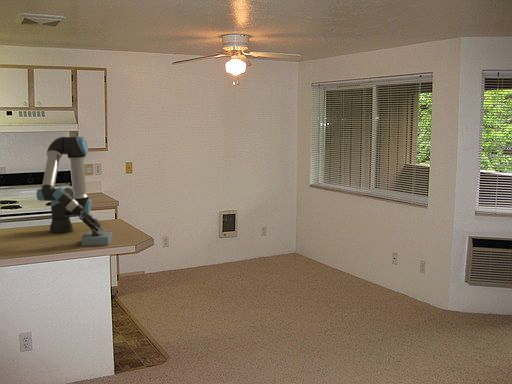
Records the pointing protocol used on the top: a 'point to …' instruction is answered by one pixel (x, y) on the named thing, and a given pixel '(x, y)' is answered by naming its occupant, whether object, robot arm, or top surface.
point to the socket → (96, 239)
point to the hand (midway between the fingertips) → (103, 233)
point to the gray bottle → (98, 227)
